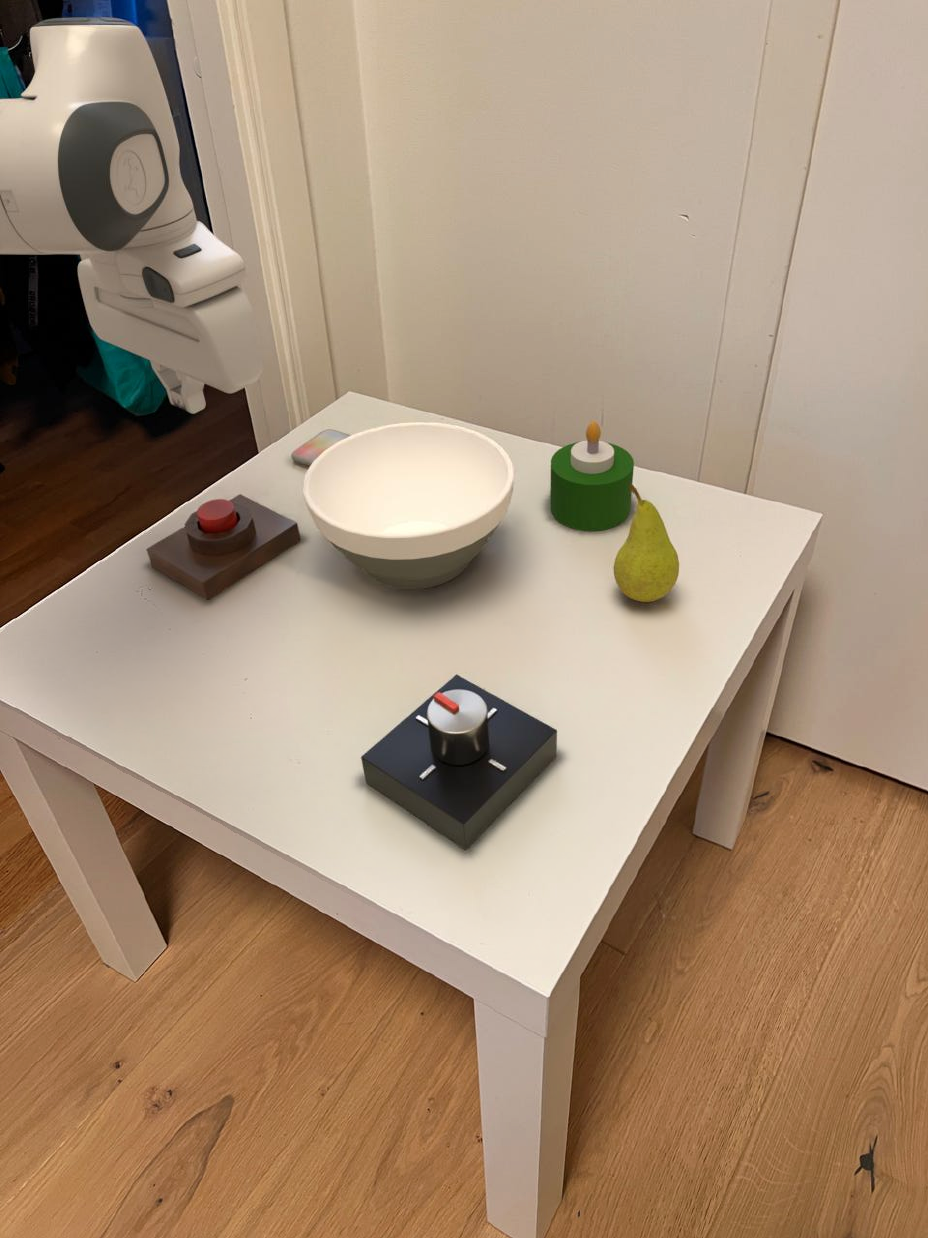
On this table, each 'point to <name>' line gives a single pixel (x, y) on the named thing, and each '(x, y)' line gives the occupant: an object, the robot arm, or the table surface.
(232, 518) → the light button
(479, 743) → the dimmer knob
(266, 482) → the table surface
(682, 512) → the table surface
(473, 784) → the dimmer panel
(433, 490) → the bowl
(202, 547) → the lamp switch
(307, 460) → the smartphone
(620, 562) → the fruit
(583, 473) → the candle
